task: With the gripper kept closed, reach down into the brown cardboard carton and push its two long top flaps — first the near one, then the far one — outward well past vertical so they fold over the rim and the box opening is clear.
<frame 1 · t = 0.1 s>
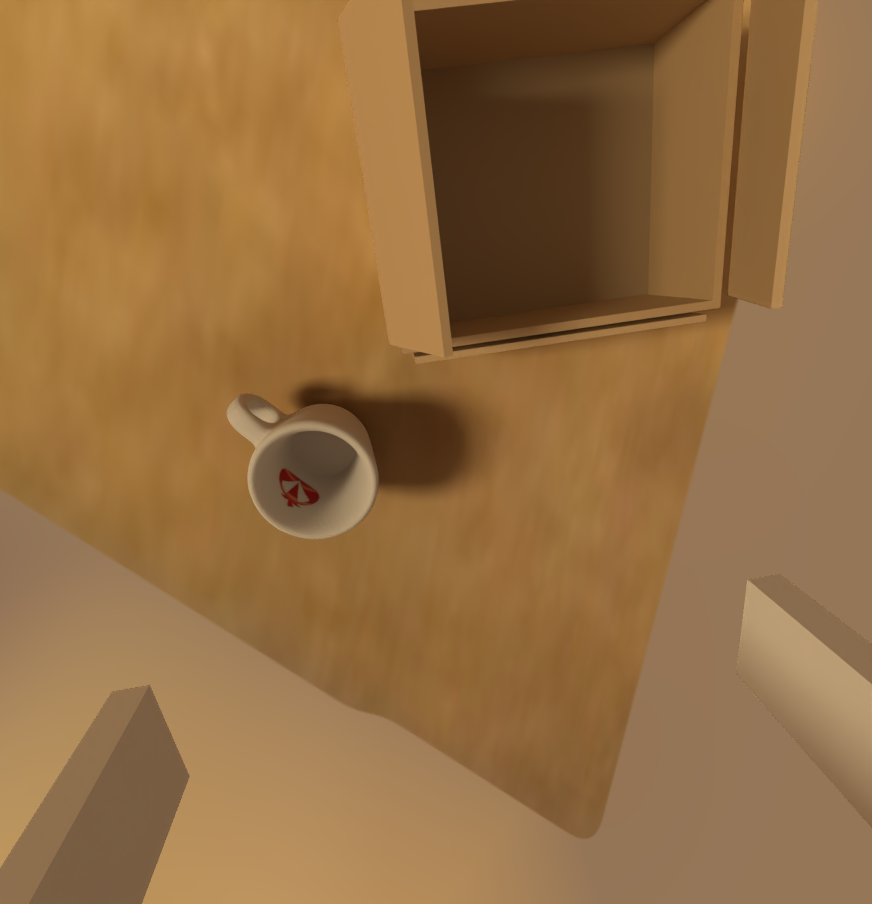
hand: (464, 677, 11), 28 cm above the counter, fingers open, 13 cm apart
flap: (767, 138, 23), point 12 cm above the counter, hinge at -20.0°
carton: (518, 196, 33), on the counter
cup: (311, 429, 38), on the counter
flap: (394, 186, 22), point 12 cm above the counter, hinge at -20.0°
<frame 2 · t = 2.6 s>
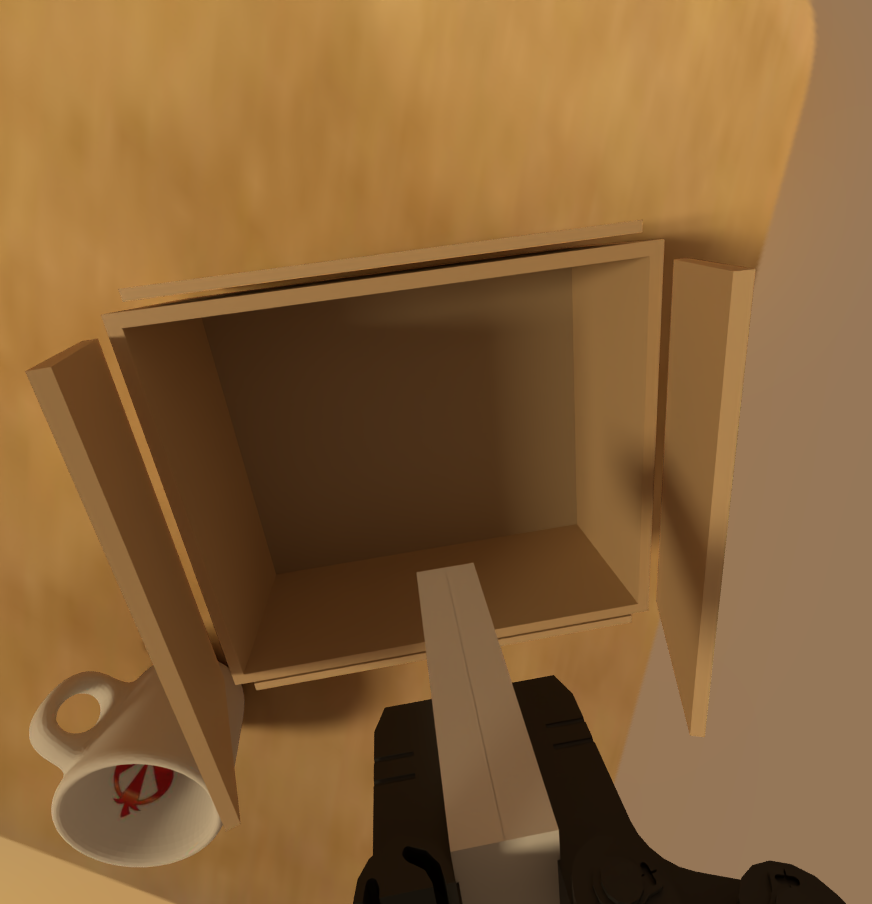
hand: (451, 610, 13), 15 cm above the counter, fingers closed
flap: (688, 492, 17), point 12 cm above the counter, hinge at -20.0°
carton: (410, 426, 27), on the counter
cup: (176, 674, 31), on the counter
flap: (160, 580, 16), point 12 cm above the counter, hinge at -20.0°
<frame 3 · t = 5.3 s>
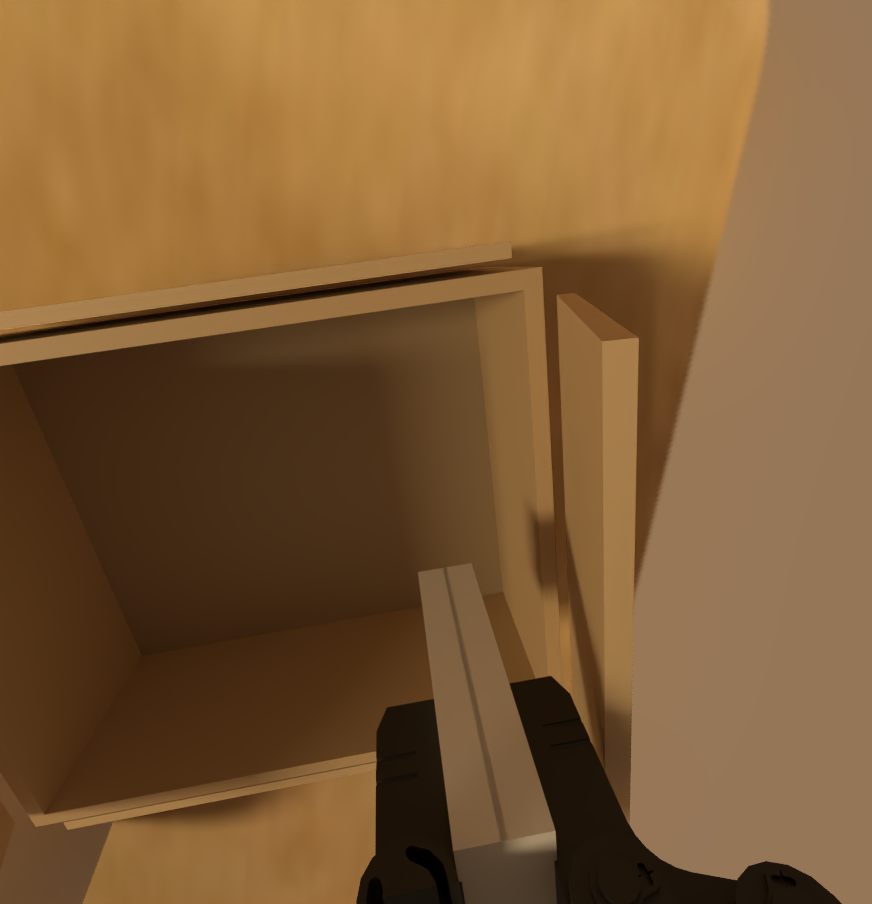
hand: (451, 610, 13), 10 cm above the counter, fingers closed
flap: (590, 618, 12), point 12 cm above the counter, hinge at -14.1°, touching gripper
carton: (292, 483, 22), on the counter
cup: (38, 765, 27), on the counter
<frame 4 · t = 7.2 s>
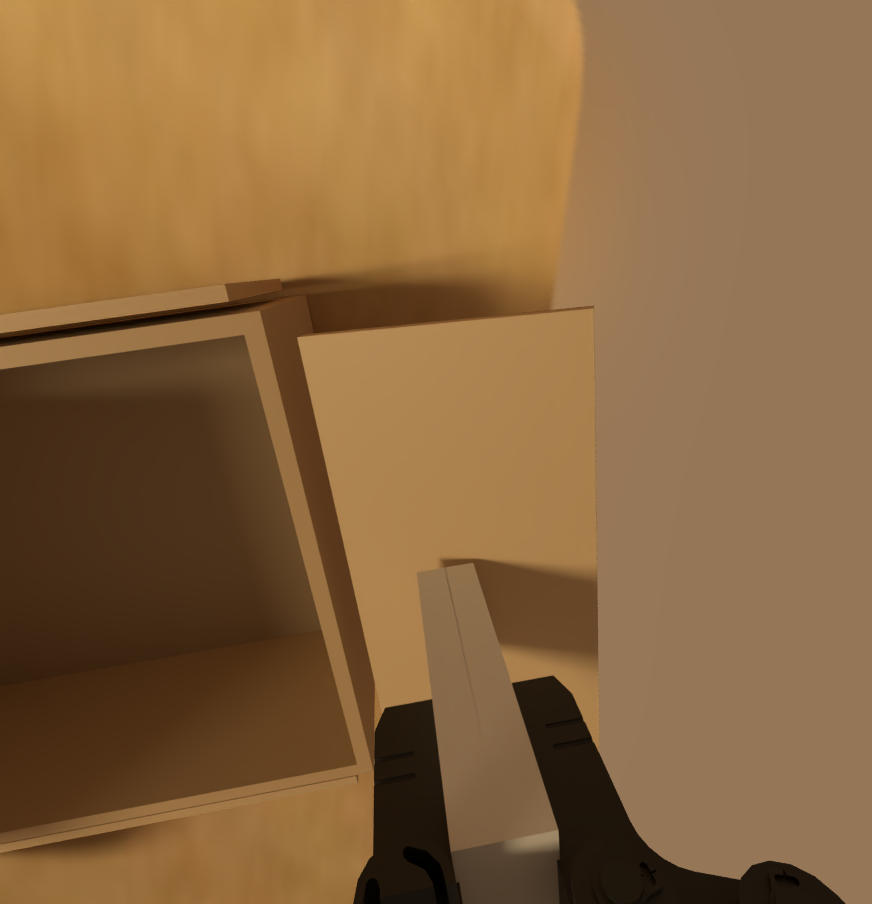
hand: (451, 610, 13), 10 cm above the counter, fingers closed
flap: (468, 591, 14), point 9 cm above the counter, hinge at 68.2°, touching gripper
carton: (129, 513, 22), on the counter
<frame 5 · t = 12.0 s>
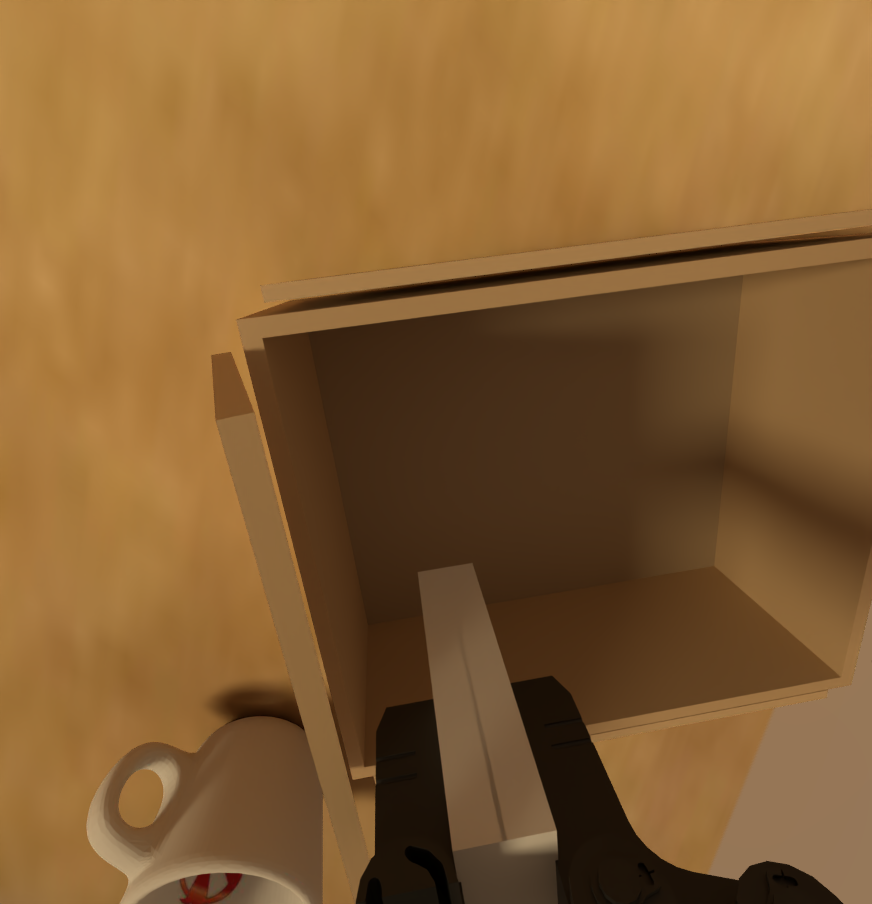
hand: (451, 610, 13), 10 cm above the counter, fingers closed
carton: (535, 454, 23), on the counter
cup: (241, 736, 27), on the counter
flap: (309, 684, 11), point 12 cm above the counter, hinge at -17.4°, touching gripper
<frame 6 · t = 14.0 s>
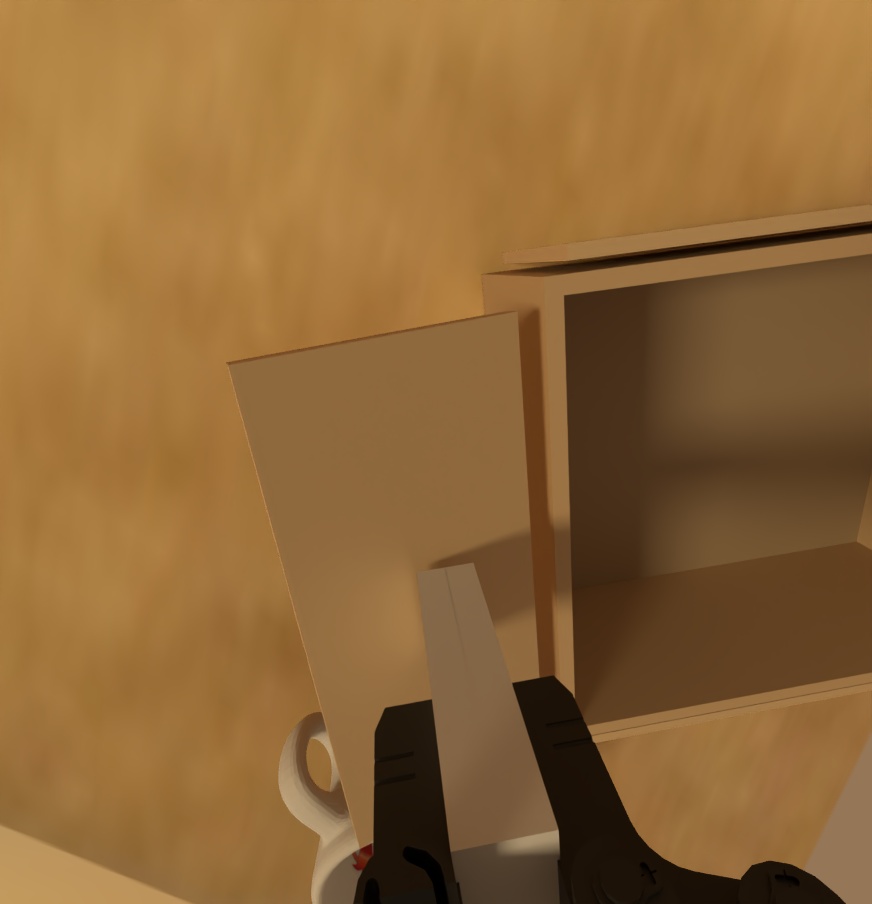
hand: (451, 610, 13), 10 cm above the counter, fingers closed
carton: (695, 428, 23), on the counter
cup: (382, 711, 27), on the counter
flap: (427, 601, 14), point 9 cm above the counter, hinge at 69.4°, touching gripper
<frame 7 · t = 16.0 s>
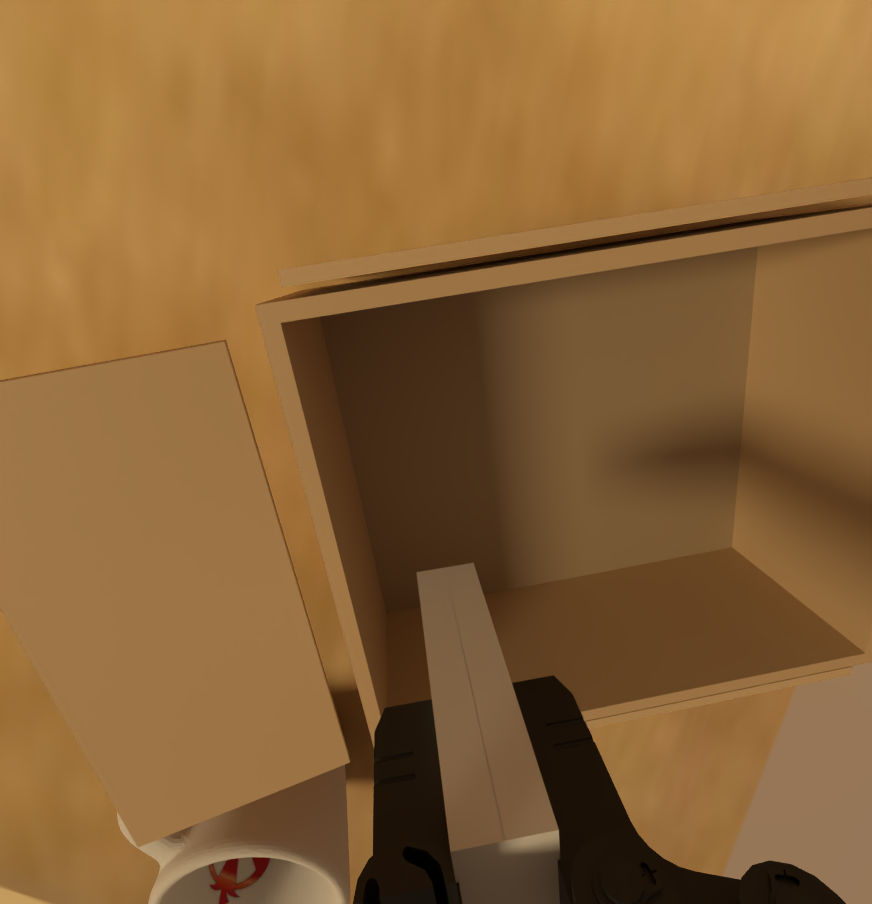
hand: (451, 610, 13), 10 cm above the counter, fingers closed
carton: (550, 438, 23), on the counter
cup: (263, 726, 27), on the counter
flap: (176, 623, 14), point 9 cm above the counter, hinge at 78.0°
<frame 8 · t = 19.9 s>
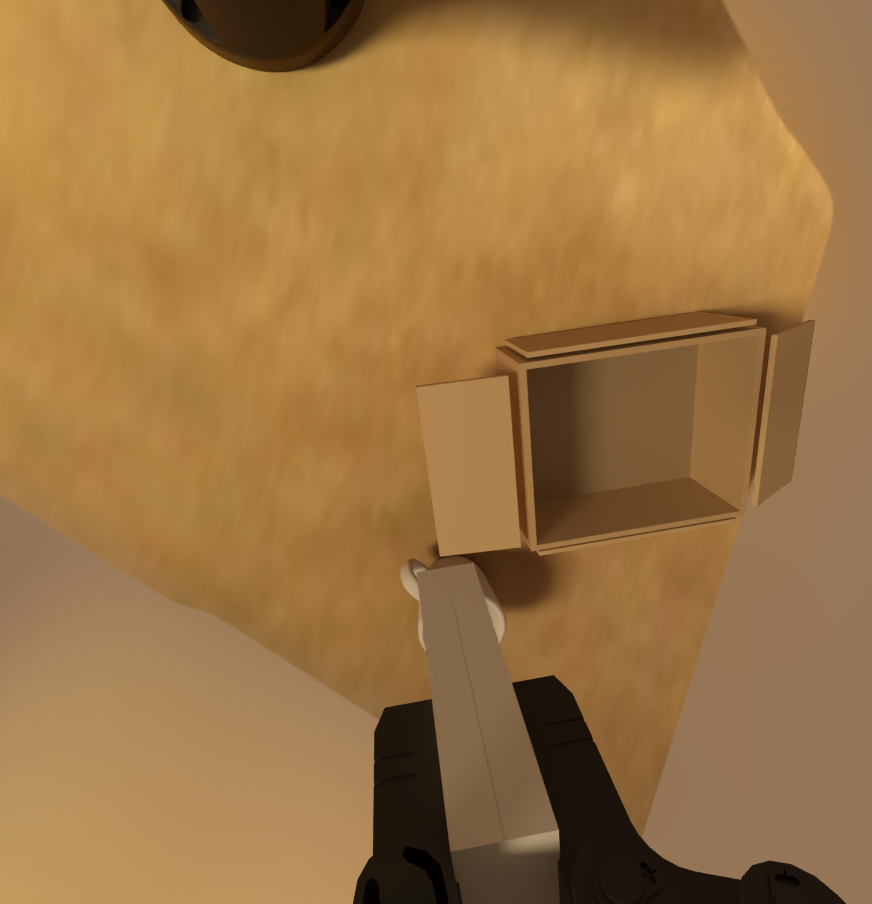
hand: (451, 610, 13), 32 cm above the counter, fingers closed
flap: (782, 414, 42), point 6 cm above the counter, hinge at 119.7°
carton: (600, 417, 47), on the counter
cup: (441, 570, 51), on the counter
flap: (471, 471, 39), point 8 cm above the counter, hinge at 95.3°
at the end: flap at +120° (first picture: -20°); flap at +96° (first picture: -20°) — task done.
